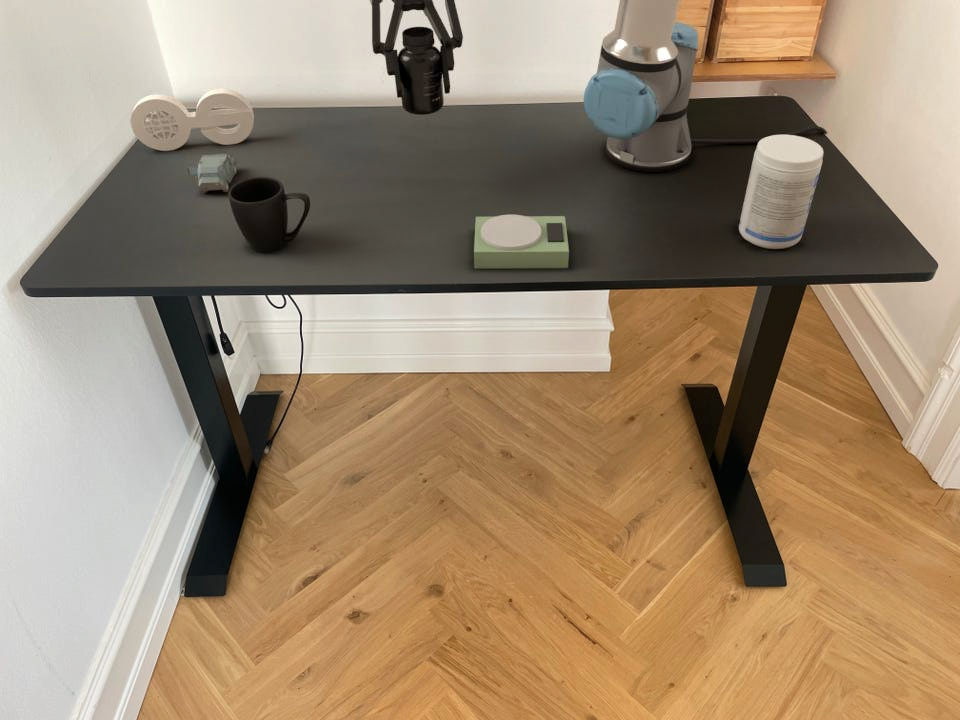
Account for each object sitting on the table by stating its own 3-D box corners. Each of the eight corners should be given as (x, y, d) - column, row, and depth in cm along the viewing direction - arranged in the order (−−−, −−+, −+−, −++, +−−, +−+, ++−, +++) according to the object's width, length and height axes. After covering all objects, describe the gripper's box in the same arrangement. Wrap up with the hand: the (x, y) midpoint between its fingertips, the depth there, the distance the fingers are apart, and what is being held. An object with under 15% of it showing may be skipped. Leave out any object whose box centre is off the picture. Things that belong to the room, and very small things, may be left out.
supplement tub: (812, 247, 120) (839, 158, 110) (755, 255, 118) (778, 166, 109) (780, 215, 127) (803, 129, 117) (726, 223, 126) (745, 137, 116)
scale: (564, 232, 124) (565, 212, 122) (567, 268, 117) (569, 248, 114) (476, 232, 125) (475, 213, 122) (474, 268, 117) (473, 248, 115)
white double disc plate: (140, 153, 148) (123, 102, 142) (141, 148, 150) (125, 97, 143) (258, 141, 151) (247, 90, 144) (258, 136, 153) (247, 86, 146)
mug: (309, 260, 120) (298, 206, 113) (234, 256, 121) (219, 202, 115) (323, 232, 126) (314, 178, 120) (252, 228, 127) (239, 175, 121)
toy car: (238, 169, 143) (232, 144, 139) (226, 196, 135) (219, 170, 132) (203, 169, 143) (196, 145, 139) (189, 197, 135) (181, 171, 132)
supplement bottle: (393, 108, 127) (385, 32, 119) (423, 95, 131) (418, 20, 123) (422, 119, 123) (416, 42, 116) (452, 106, 127) (449, 30, 119)
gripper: (466, -40, 128) (483, 96, 127) (345, -32, 126) (361, 106, 125) (470, -68, 121) (488, 76, 119) (341, -60, 119) (358, 87, 117)
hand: (423, 91), depth 122 cm, fingers closed on supplement bottle, 7 cm apart
